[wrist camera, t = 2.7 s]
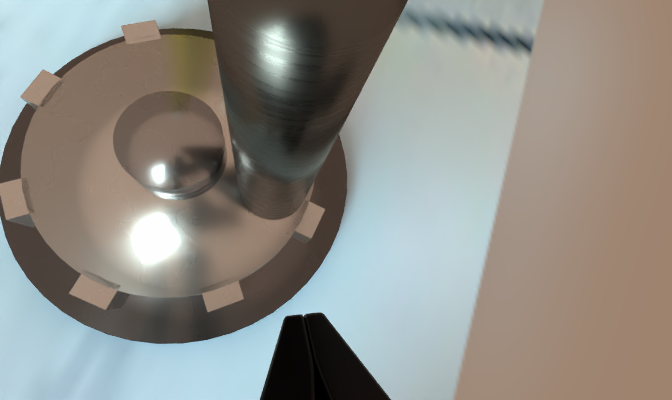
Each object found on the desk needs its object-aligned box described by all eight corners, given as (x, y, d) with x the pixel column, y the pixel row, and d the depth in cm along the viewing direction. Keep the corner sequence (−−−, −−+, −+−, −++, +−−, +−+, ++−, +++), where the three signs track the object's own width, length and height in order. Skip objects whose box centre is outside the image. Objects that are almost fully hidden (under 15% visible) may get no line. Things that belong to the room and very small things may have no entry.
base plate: (390, 254, 17) (428, 243, 13) (77, 408, 13) (10, 451, 10) (273, 10, 18) (277, -59, 15) (-33, 90, 15) (-126, 25, 11)
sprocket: (369, 239, 16) (634, 115, 5) (84, 374, 13) (-1025, 897, 2) (262, 16, 17) (275, -482, 6) (-17, 89, 14) (-978, -630, 3)
